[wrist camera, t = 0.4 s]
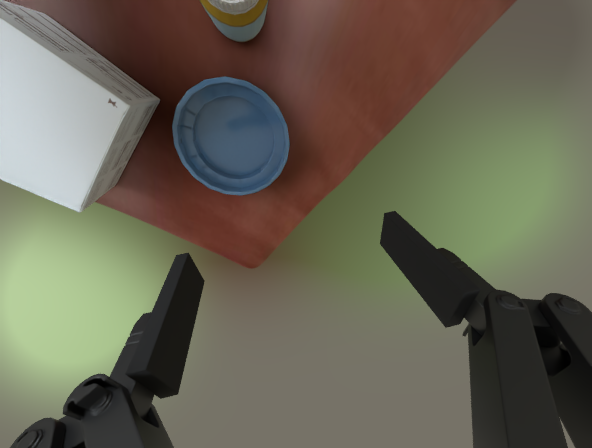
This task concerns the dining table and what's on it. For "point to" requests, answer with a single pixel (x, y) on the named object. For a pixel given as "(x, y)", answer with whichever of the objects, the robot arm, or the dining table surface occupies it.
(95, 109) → the supplement box
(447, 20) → the dining table surface
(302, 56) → the dining table surface
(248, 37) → the bottle
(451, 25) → the dining table surface
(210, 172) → the bowl
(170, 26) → the dining table surface
